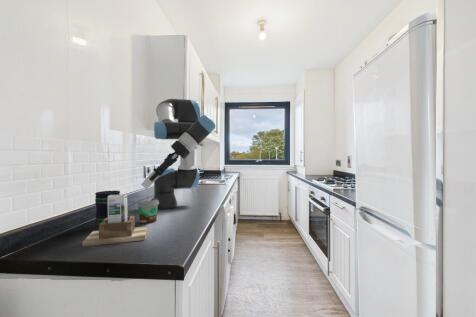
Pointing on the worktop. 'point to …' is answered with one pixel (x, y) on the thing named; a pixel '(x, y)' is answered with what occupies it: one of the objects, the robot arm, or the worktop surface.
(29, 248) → the worktop surface
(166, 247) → the worktop surface
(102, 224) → the box
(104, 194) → the storage jar
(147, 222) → the food container
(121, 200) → the syrup box
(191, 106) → the robot arm
